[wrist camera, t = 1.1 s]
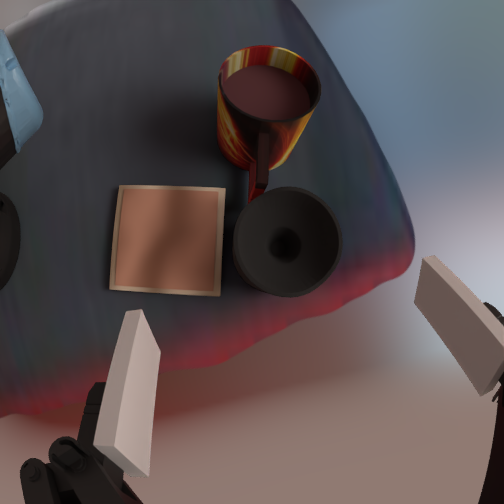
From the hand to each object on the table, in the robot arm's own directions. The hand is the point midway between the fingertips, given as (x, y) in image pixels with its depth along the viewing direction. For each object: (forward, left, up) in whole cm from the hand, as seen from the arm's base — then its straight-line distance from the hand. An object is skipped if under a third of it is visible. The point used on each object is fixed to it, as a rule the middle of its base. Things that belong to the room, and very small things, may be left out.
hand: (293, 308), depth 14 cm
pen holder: (+2, +5, -22) cm, 23 cm away
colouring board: (-9, +6, -22) cm, 24 cm away
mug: (+1, +18, -22) cm, 28 cm away
